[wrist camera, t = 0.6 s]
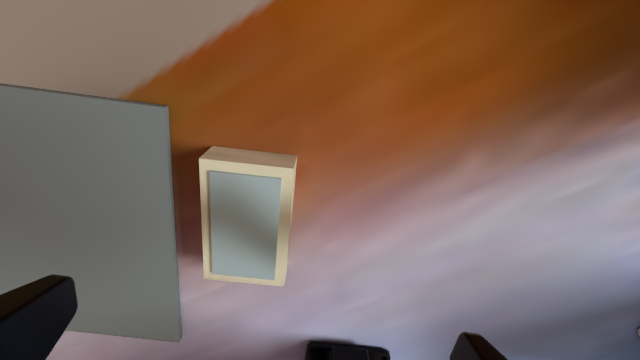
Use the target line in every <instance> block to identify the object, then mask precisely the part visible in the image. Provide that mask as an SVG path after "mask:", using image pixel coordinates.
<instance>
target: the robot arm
mask: <svg viewBox="0 0 640 360" xmlns="http://www.w3.org/2000/svg"><path fill="white" fill-rule="evenodd" d="M77 308H78V301H77V295H76V288H75V282H74V280H73V278H72V277H70V276H64V275H56V274H52V275H48V276H46V277H43V278H41V279H38V280H36V281H33V282H31V283H28V284H26V285H23V286H21V287H18V288H16V289H13V290H11V291H8V292H6V293H3V294H1V295H0V360H46V358H47V357H48V355H49V354H50V352H51V351H52V349H53V348H54V346H55V345H56V343H57V342H58V340H59V339H60V337H61V336H62V334H63V333H64V331H65V329H66V328H67V326H68V325H69V323H70V322H71V320H72V319H73V317H74V316H75V314H76V311H77ZM305 360H390V354H389V351H387V350H385V349H376V348H367V347H358V346H348V345H339V344H330V343H321V342H310V343H308V344H307V347H306V354H305ZM450 360H508V359H506V358H505V357H504V356H503V355H502V354H501V353H500V352H499V351H498V350H497V349H496V348H494V347H493V346H492V345H491V344H490V343H489V342H488V341H487V340H486V339H485V338H484V337H482V336H481V335H479V334H475V333H468V332H462V333H461V334H460V335H459V337H458V339H457V341H456V344H455V346H454V348H453V351H452V353H451V355H450Z"/></svg>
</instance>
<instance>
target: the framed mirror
mask: <svg viewBox="0 0 640 360" xmlns="http://www.w3.org/2000/svg"><path fill="white" fill-rule="evenodd" d="M296 163H297V155H288V154H279V153H270V152H261V151H252V150H243V149H234V148H225V147H216V146H212V147H211V148H210V149H209V150H207V151H206V152H205V153H204V154H203V155H202V156H201V157H200V158H199V174H200V197H201V221H202V244H203V268H204V279H212V280H222V281H232V282H242V283H252V284H262V285H273V286H283V287H284V283H285V277H286V271H287V266H288V255H289V244H290V232H291V220H292V209H293V197H294V186H295V174H296Z"/></svg>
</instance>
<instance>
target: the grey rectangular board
mask: <svg viewBox="0 0 640 360" xmlns="http://www.w3.org/2000/svg"><path fill="white" fill-rule="evenodd" d="M52 274H56V275H64V276H70V277H72V278H73V280H74V282H75V288H76V295H77V301H78V308H77V311H76V314H75V316H74V317H73V319H72V320H71V322H70V323H69V325H68V326H67V328H66V329H65V330H67V331H77V332H86V333H96V334H105V335H114V336H124V337H133V338H143V339H152V340H161V341H171V342H179V341H180V339H181V337H182V334H181V317H180V300H179V283H178V265H177V248H176V231H175V214H174V197H173V180H172V163H171V145H170V128H169V111H168V106H166V105H159V104H151V103H144V102H136V101H129V100H121V99H114V98H106V97H98V96H91V95H83V94H76V93H68V92H60V91H53V90H46V89H37V88H31V87H23V86H15V85H8V84H0V295H1V294H3V293H6V292H8V291H11V290H13V289H16V288H18V287H21V286H23V285H26V284H28V283H31V282H33V281H36V280H38V279H41V278H43V277H46V276H48V275H52Z"/></svg>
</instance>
